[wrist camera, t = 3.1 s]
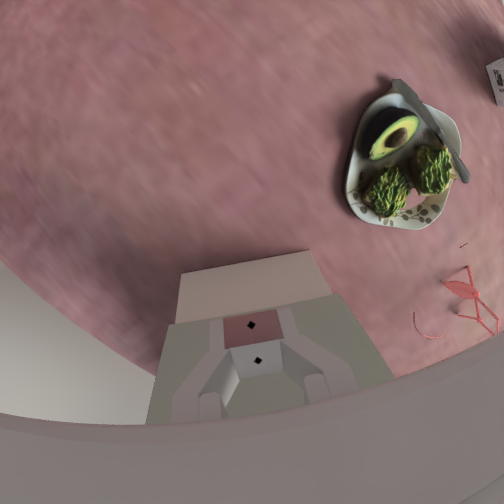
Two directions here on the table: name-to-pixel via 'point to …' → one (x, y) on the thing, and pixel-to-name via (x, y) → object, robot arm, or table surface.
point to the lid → (277, 384)
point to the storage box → (249, 286)
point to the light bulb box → (497, 80)
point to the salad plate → (402, 160)
